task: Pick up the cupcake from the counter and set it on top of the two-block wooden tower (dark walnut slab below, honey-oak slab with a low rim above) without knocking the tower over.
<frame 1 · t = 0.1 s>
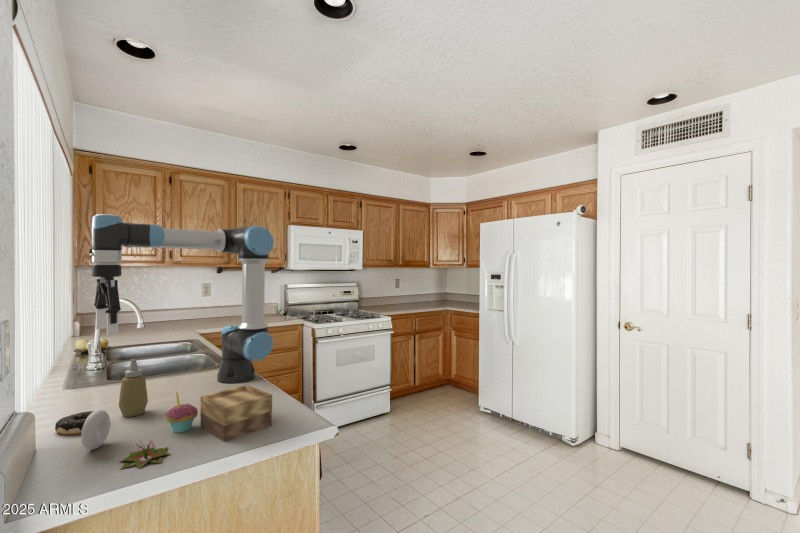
hand: (106, 331, 125), 28 cm above the worktop, fingers open, 13 cm apart
tower top: (236, 411, 122), point 5 cm above the worktop, touching tower base
cupcake: (181, 429, 119), on the worktop
lily flower: (145, 460, 102), on the worktop
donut: (96, 448, 107), on the worktop
donut 2: (80, 429, 119), on the worktop
tower base: (236, 427, 122), on the worktop, touching tower top
squeeze bottle: (133, 414, 131), on the worktop
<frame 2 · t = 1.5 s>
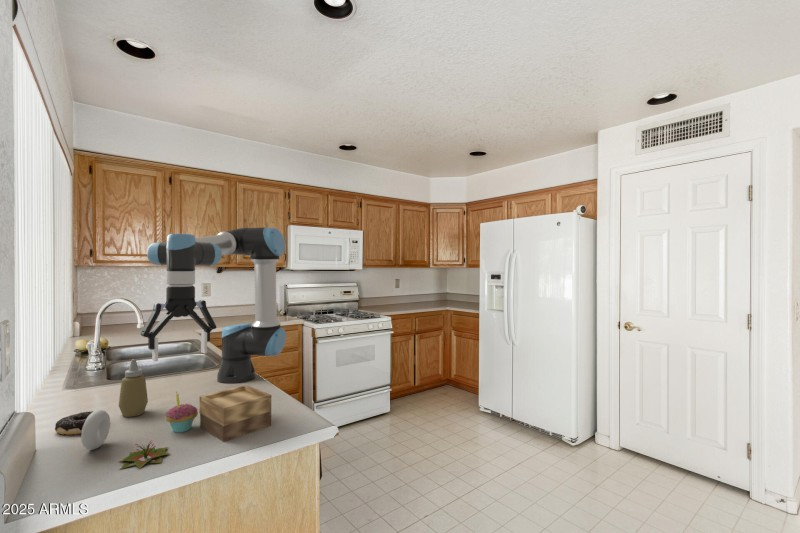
hand: (180, 356, 119), 22 cm above the worktop, fingers open, 13 cm apart
nothing on the worktop moved.
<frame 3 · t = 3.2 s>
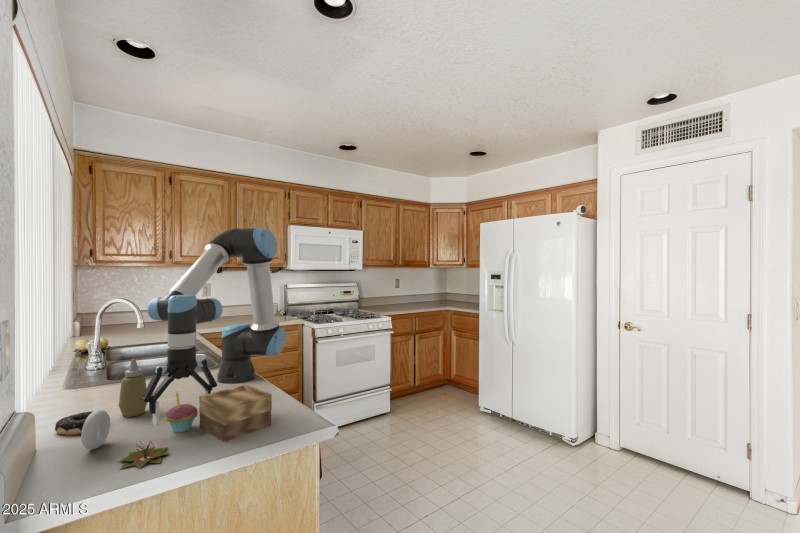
hand: (181, 417, 119), 4 cm above the worktop, fingers open, 13 cm apart
nothing on the worktop moved.
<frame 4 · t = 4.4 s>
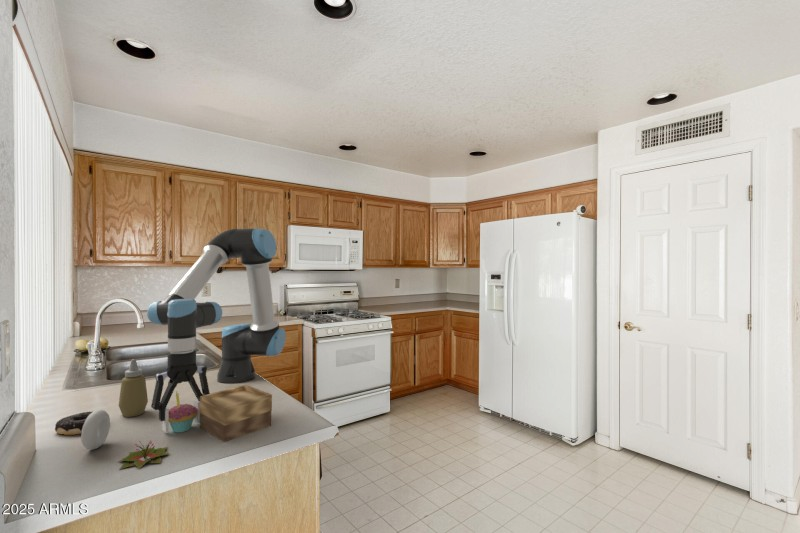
hand: (181, 426, 119), 1 cm above the worktop, fingers closed on cupcake, 8 cm apart
cupcake: (181, 429, 119), on the worktop, touching gripper
everything else where it was.
when the fingers open (12 cm above the worktop, at t = 11.0 s): cupcake drops 2 cm, resting on tower top.
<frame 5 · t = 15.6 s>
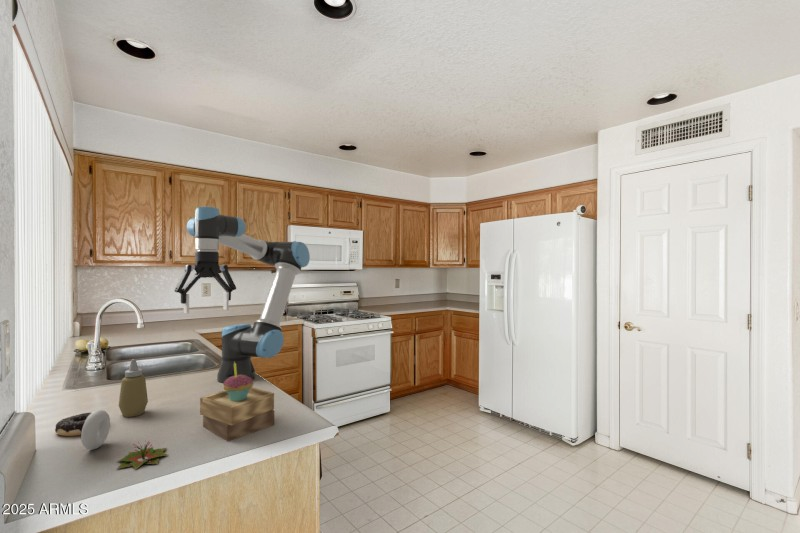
hand: (206, 311, 140), 33 cm above the worktop, fingers open, 13 cm apart
tower top: (237, 411, 122), point 4 cm above the worktop, touching cupcake
cupcake: (237, 399, 122), point 8 cm above the worktop, touching tower top
tower base: (238, 427, 122), on the worktop
at the end: cupcake 0.1 cm from the tower top (horizontally); cupcake point 8.3 cm above the worktop; tower top moved 0.7 cm from its start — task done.
